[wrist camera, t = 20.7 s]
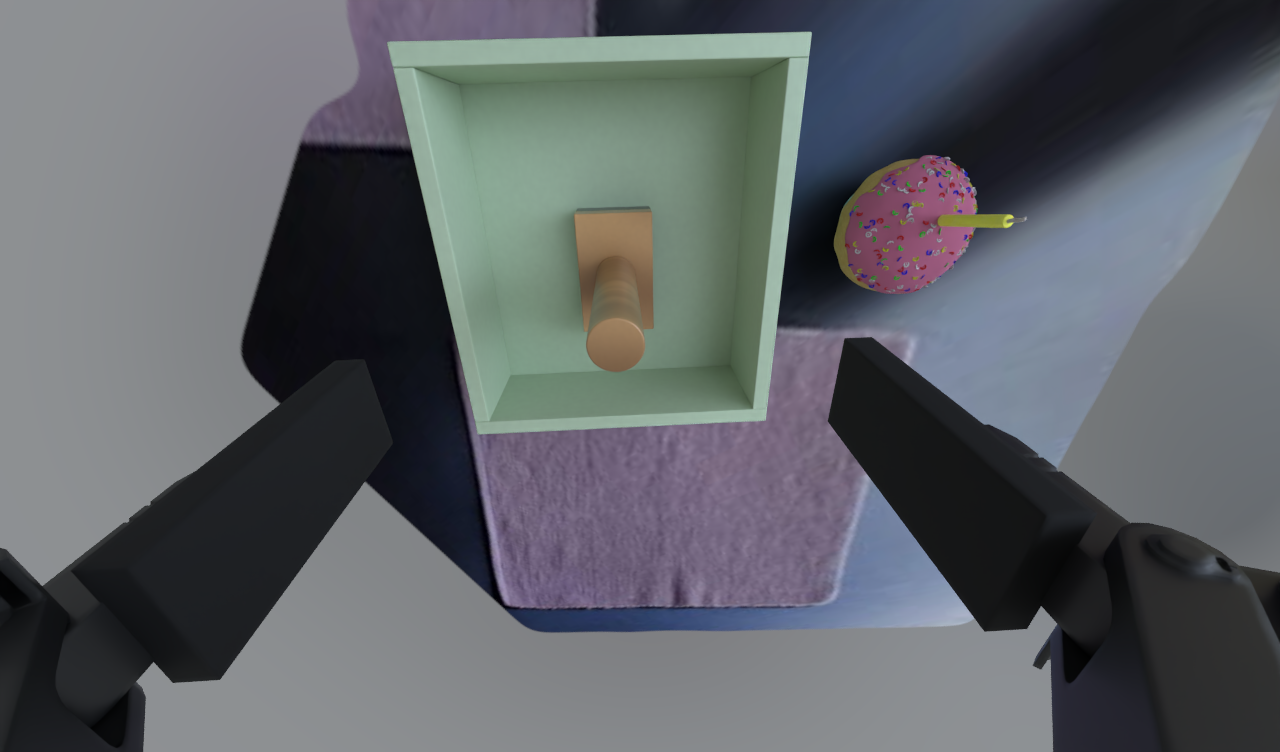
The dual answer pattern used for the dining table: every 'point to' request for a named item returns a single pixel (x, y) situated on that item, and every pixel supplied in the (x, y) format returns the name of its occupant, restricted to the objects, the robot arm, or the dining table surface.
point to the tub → (608, 177)
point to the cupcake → (909, 225)
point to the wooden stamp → (615, 282)
